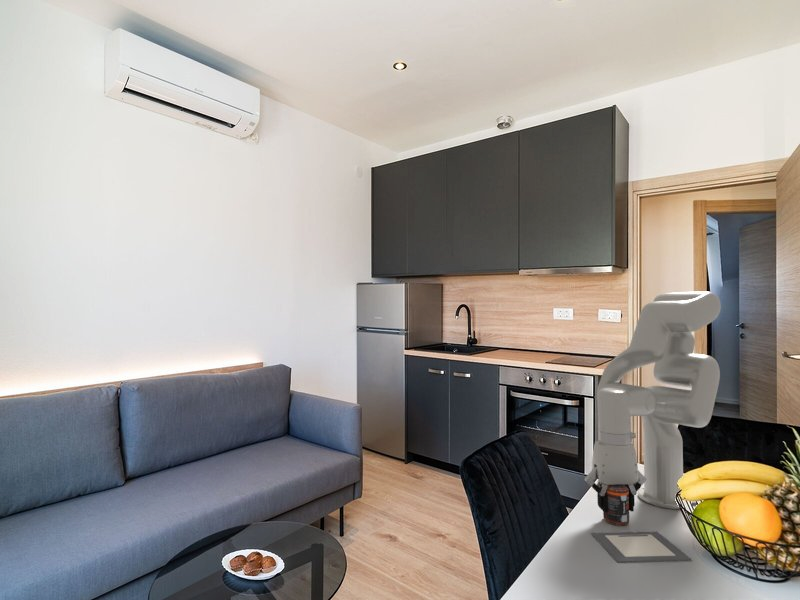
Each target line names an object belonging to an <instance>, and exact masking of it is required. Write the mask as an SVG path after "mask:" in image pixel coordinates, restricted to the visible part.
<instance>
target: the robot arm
mask: <svg viewBox="0 0 800 600" xmlns="http://www.w3.org/2000/svg"><path fill="white" fill-rule="evenodd" d="M721 308H722V304H721V299H719V297H718V295H717V294H715V293H714V292H711V291H680V292H666V293H661V294H658V295H656V296H655V298H654V299H653V301H651V302H648V303H646V304H645V305H643V307H642V308H641V311H640V313H639V317H638V320H637V322H636V326H635V329H634V332H633V335H632V337H631V340H630V343H629V345H628V347H627V348H626V349H625V350H623V351H621V352H620V353H618V354H617V355H616V356H615V357H614V358H613V359H612V360H611V361H610V362H608V363H607V365H606V366H605V368H604V370H603V372H602V374H601V377H600V379H599V382H598V385H597V390H596V391H597V392H596V399H597V429H598V430H597V435H598V436H597V438H598V440H595V441H594V444H593V449H592V450H593V452H592V457H591V471H590V472H589V473H588V474H587V475H586V476H585V477H584V481H585V482H586V483H587V484H588V485H589V486H590V487H591V488H592V489H593V490H594V491H595V492H596V493H597V495H596V496H597V506H598V508H600V510H601V511H602V512H603V511H604V512H607V511H608V509H607V496H606V495H605V493H606V490H607V487H608V485H617V484H623V485H626V486H627V487H628V489H629V512H634V511H635V510H634V508H635V496H636V495H637V493H638V497H639V498H640V499H641V500H642V501H643V502H646V503H648V504H650V505H652V506H656V507H659V508H664V509H671V510H672V509H673V510H674V509H675V510H678V509H679V507H678V505H677V503H676V501H675V494H676V493H677V492H679V491H680V489H679V488H678V486H677V482H678V480H679V479H680V478H681V477H682V476H683V477H684V458H683V457H684V455H683V450H684V449H683V448H684V447H683V445H684V444H683V443H684V442H683V437H682V435H681V431H680V430H679V428H678V427H677V426H676V425H680V426H681V425H682V426H686V427H692V428H698V429H699V428H700V429H701V428H704V427H706V426H708V424H709V423H710V421H711V419H712V415H713V412H714V408H715V403H716V399H717V394H718V389H719V385H720V379H721V371H720V366H719V362H717V360H716V359H715V358H714V357H713V356H711V355H707V354H703V353H694V349H695V345H696V340H695V336H694V335H693V333H692V332H697V331H699V330H701V329H703V328H704V327H706V326H708V325H709V324H711V323H712V322H714V321H715V320H716V319H718V317H719V315H720V312H721ZM650 364H654V365H653V366H654V367H653V377H654V378H655V380H656V381H657V382H659V383H661V384H665V385H668V386H663V385H651V386H650V385H649V386H646V387H645V386H641V385H633V384H627V383H621V381H622V379H623V378H624V377H625V376H626V375H627V374H628V373H630V372H631V371H634V370H635V369H638V368H639V369H640V368H642V367H646V366H648V365H650ZM670 386H671V387H670ZM672 386H676V387H683V388H691V389H683V388H676V387H672ZM631 417H641V423H642V435H643V436H642V437H643V438H642V439H643V441H642V442H643V473H642V472H640V470H639V469H638V468H639V467H638V458H637V453H636V449H635V445H634V443H633V439H636V438H637V435H636V433H635V432H632V425H631V424H632V421H631V420H632V419H631ZM595 479H596V480H597V483H596V482H595V481H594V480H595ZM642 486H643V487H642ZM679 510H680V509H679Z"/></svg>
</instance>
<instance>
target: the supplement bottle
mask: <svg viewBox="0 0 800 600" xmlns="http://www.w3.org/2000/svg"><path fill="white" fill-rule="evenodd" d="M605 495H606V496H607V509H608V511H607V512H604V511H603V510H602V513H603V514H602V515H603V519H604V521H605V522H606V523H608V524H611V525H614V526H619V527H620V526H622V527H623V526H627V525H628V524H629V523H630V510H629V489H628V487H627V486H626V485H623V484H617V485H608V487H607V490H606V493H605Z"/></svg>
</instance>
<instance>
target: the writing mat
mask: <svg viewBox="0 0 800 600" xmlns="http://www.w3.org/2000/svg"><path fill="white" fill-rule="evenodd" d="M591 535H592V537H593V538H594V539H595V540H596V541H597V543H599V544H600V545H601V546H602V547H603V548H604V549H605V551H606V552H608V554H609V555H610V556H611V558H613V559H614V560H615V561H616V562H617V563H621V564H623V563H651V562H652V563H653V562H655V563H656V562H657V563H658V562H659V563H661V562H692V560H693V559H692V558H690V556H688V555H687V554H686V553H685V552H683V551H682V550H681V549H680V548H678V547H677V546H676V545H675V544H674V543H672V542H671V541H670V540H668V539H667V538H666V537H665V536H663V535H662V534H661V533H660V532H659V531H657V530H656V531H621V532H620V531H619V532H618V531H615V532H614V531H613V532H591Z"/></svg>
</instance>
